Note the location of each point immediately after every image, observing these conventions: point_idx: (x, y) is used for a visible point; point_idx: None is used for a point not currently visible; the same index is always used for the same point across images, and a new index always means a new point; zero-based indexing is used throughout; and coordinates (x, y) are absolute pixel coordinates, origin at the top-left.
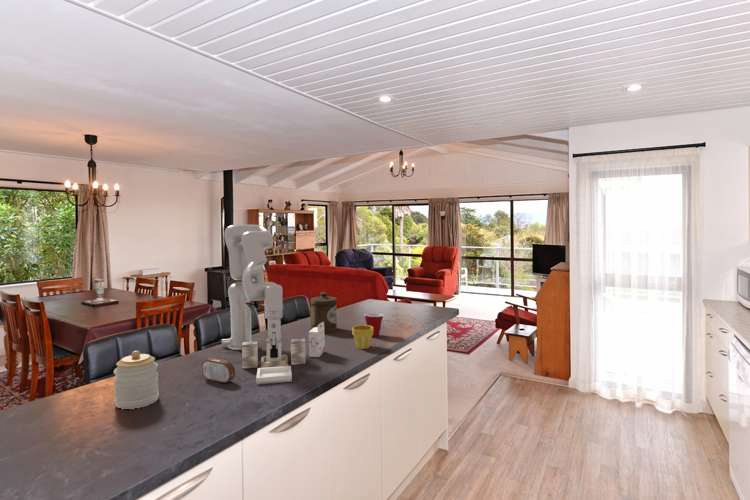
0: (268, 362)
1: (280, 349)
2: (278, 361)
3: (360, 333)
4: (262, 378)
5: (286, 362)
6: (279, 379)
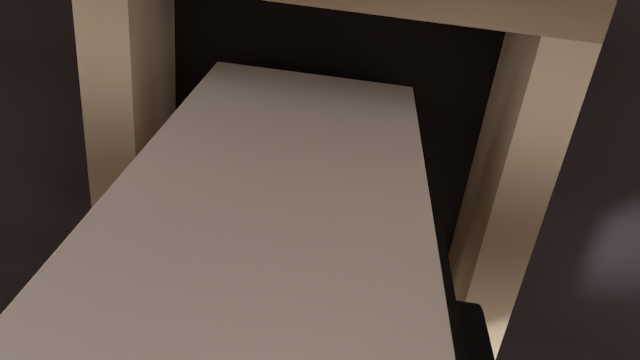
0: (495, 352)
1: (430, 276)
2: (528, 190)
3: None
4: None
5: (598, 9)
6: None
